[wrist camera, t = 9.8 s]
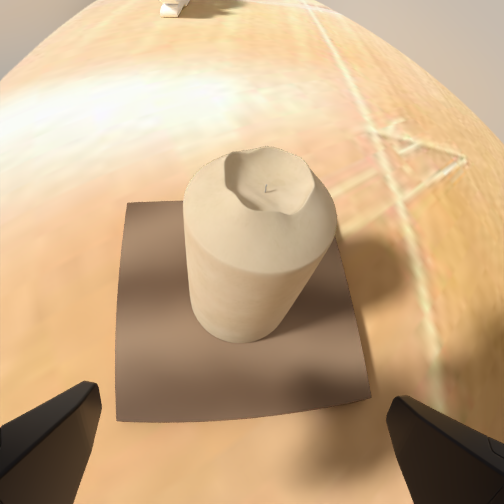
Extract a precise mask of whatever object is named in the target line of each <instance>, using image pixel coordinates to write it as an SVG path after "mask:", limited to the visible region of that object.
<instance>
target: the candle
mask: <svg viewBox="0 0 504 504" xmlns="http://www.w3.org/2000/svg"><path fill="white" fill-rule="evenodd" d="M183 218H184V233H185V246H186V259H187V270H188V281H189V292H190V300H191V305H192V309H193V312H194V314H195V316H196V318H197V320H198V321H199V323H200V324H201V325H202V326H203V327H204V329H205V330H206V331H208V332H209V333H210V334H212V335H213V336H215V337H216V338H219V339H221V340H223V341H227V342H231V343H249V342H254V341H257V340H259V339H261V338H263V337H265V336H267V335H268V334H270V333H271V332H272V331H273V330H274V329H276V328H277V326H278V325H279V324H280V322H281V321H282V320H283V318H284V317H285V315H286V314H287V312H288V311H289V309H290V308H291V306H292V305H293V303H294V302H295V300H296V299H297V297H298V296H299V294H300V293H301V291H302V289H303V288H304V286H305V285H306V283H307V282H308V280H309V279H310V277H311V275H312V274H313V272H314V271H315V269H316V268H317V266H318V264H319V263H320V261H321V260H322V258H323V256H324V255H325V253H326V252H327V250H328V248H329V247H330V245H331V243H332V241H333V239H334V236H335V232H336V227H337V214H336V208H335V205H334V202H333V199H332V197H331V195H330V193H329V192H328V190H327V189H326V187H325V186H324V184H323V183H322V182H321V181H320V180H319V179H318V177H317V176H316V175H315V174H314V173H313V172H312V170H311V169H310V168H309V166H308V165H307V163H306V162H305V161H304V160H303V159H302V158H300V157H298V156H296V155H294V154H291V153H289V152H287V151H284V150H282V149H279V148H275V147H269V146H265V147H260V148H256V149H250V150H242V151H238V152H237V151H236V152H231V153H229V154H226V155H224V156H221V157H219V158H217V159H214V160H213V161H211V162H209V163H207V164H206V165H205V166H203V167H202V168H201V169H200V170H199V171H198V172H197V173H196V174H195V175H194V176H193V177H192V179H191V180H190V182H189V184H188V186H187V188H186V191H185V194H184V199H183Z"/></svg>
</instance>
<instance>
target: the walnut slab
mask: <svg viewBox="0 0 504 504" xmlns="http://www.w3.org/2000/svg"><path fill="white" fill-rule="evenodd" d="M115 393H116V419H117V421H121V422H155V423H170V422H205V421H222V420H236V419H247V418H257V417H266V416H274V415H282V414H289V413H296V412H303V411H309V410H315V409H320V408H326V407H331V406H336V405H342V404H346V403H351V402H356V401H360V400H365V399H368V398H371V392H370V386H369V381H368V376H367V370H366V365H365V360H364V355H363V350H362V345H361V341H360V336H359V331H358V327H357V322H356V318H355V313H354V309H353V305H352V300H351V296H350V292H349V288H348V284H347V280H346V276H345V272H344V268H343V264H342V260H341V257H340V253H339V249H338V246H337V242H336V238H335V236H334V239H333V241H332V243H331V245H330V247H329V248H328V250H327V252H326V253H325V255H324V256H323V258H322V260H321V261H320V263H319V264H318V266H317V268H316V269H315V271H314V272H313V274H312V275H311V277H310V279H309V280H308V282H307V283H306V285H305V286H304V288H303V289H302V291H301V293H300V294H299V296H298V297H297V299H296V300H295V302H294V303H293V305H292V306H291V308H290V309H289V311H288V312H287V314H286V315H285V317H284V318H283V320H282V321H281V322H280V324H279V325H278V326H277V328H276V329H274V330H273V331H272V332H271V333H270V334H268V335H267V336H265V337H263V338H261V339H259V340H257V341H254V342H249V343H231V342H227V341H223V340H221V339H219V338H216V337H215V336H213V335H212V334H210V333H209V332H208V331H206V330H205V329H204V327H203V326H202V325H201V324H200V323H199V321H198V320H197V318H196V316H195V314H194V312H193V309H192V305H191V300H190V292H189V281H188V270H187V259H186V246H185V233H184V218H183V201H160V202H134V203H127V209H126V216H125V224H124V232H123V240H122V249H121V259H120V270H119V282H118V296H117V313H116V340H115Z"/></svg>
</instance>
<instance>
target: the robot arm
mask: <svg viewBox="0 0 504 504" xmlns="http://www.w3.org/2000/svg"><path fill="white" fill-rule="evenodd" d="M101 409H102V404H101V398H100V393H99V387H98V385H97V384H96V383H94V382H89V381H83V382H81V383H79V384H77V385H75V386H74V387H72V388H70V389H68V390H66V391H65V392H63V393H61V394H59V395H57V396H56V397H54V398H52V399H50V400H48V401H47V402H45V403H43V404H41V405H39V406H38V407H36V408H34V409H32V410H30V411H28V412H26V413H25V414H23V415H21V416H19V417H17V418H15V419H14V420H12V421H10V422H8V423H6V424H4V425H2V426H1V428H0V504H73V503H74V500H75V497H76V494H77V491H78V488H79V485H80V482H81V479H82V476H83V474H84V471H85V468H86V465H87V463H88V460H89V457H90V454H91V451H92V447H93V443H94V439H95V434H96V430H97V426H98V422H99V418H100V414H101ZM386 422H387V426H388V430H389V433H390V437H391V440H392V444H393V448H394V451H395V455H396V458H397V461H398V464H399V466H400V469H401V471H402V474H403V476H404V479H405V481H406V484H407V487H408V489H409V492H410V495H411V497H412V500H413V502H414V504H504V444H503V443H501V442H499V441H497V440H494V439H492V438H490V437H487V436H486V435H484V434H482V433H480V432H478V431H476V430H474V429H472V428H470V427H468V426H466V425H464V424H462V423H460V422H458V421H456V420H454V419H452V418H450V417H448V416H446V415H444V414H442V413H440V412H438V411H436V410H434V409H432V408H430V407H428V406H427V405H425V404H423V403H421V402H419V401H417V400H415V399H413V398H411V397H410V396H407V395H402V396H397V397H395V398H394V399H393V402H392V404H391V406H390V409H389V411H388V413H387V417H386Z"/></svg>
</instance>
